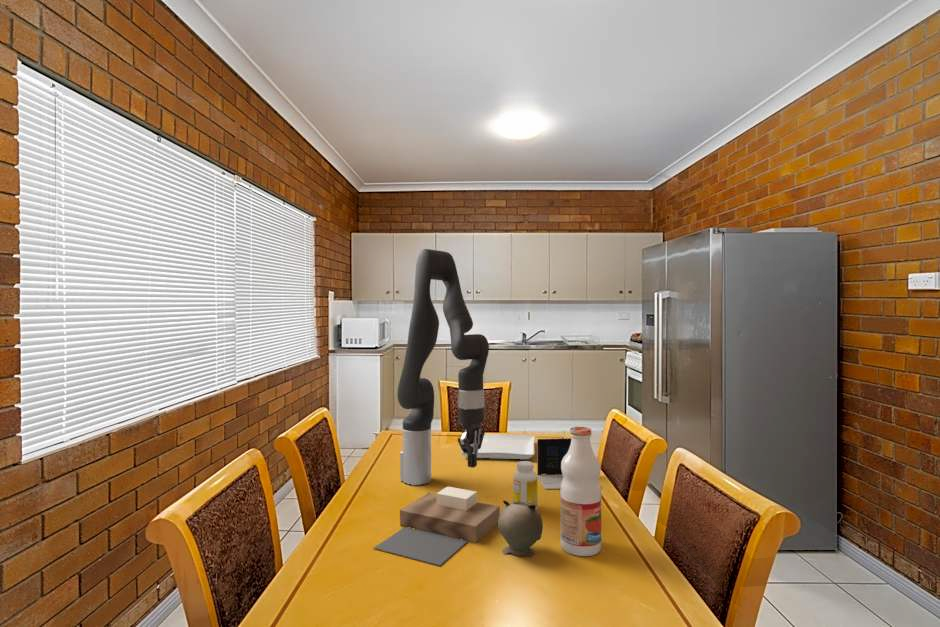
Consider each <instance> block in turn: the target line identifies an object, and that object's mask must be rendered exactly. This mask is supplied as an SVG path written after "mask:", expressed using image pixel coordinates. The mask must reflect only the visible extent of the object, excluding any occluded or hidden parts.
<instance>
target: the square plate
mask: <svg viewBox="0 0 940 627" xmlns="http://www.w3.org/2000/svg"><path fill="white" fill-rule="evenodd" d="M535 442H536V436H535V435H526V434H525V435H523V434H508V433H507V434H505V433H503V434H502V433H485V434H484V437H483V441H482V445H481V448H480V449H478V453H477V459H483V458H490V460H510V459H520V461H522V460H523V461H525V460H529V459H531V458H532V457H533V456H534V455H536V452H535V450H536V449H535ZM460 454H461V455H462V456H463V457H466V458H468V454H466V453H463V451H462V450H461V451H460Z"/></svg>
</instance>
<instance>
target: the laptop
mask: <svg viewBox="0 0 940 627" xmlns="http://www.w3.org/2000/svg"><path fill="white" fill-rule="evenodd" d="M536 441H537V442H536V450H537V451H536V454H537V455H536V456H537V457H536V458H537V459H536V462H537V463H536V464H537V465H536V469H537V470H536V472H537V473H536V474H537V480H540V481H539V483H541V485H542V486H543V488H544V490H548V491H549V490H560V489H561V482H562V480H563V474H562V471H561V462H562V459H563V457H564V456H565V455H566V454H567V452H568V450H569V448H570V444H571V438H570V437H568V438H566V437H565V438H564V437H563V438H537V440H536Z"/></svg>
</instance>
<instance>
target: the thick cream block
mask: <svg viewBox="0 0 940 627" xmlns="http://www.w3.org/2000/svg"><path fill="white" fill-rule="evenodd" d="M477 493H478V492H477V491H476V490H470V489H464V488H458V487H454V486H453V487H452V486H446V487H444V488H443V489H441V490H440V491H438V492H437V493H435V494H436V505H441V506H446V507H451V508H456V509H461V510H466V511H467V510H468V509H469V508H471V507H472V506H473V505H475V504H476V503H477V502H478V496H477V495H478V494H477Z"/></svg>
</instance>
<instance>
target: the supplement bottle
mask: <svg viewBox="0 0 940 627" xmlns="http://www.w3.org/2000/svg"><path fill="white" fill-rule="evenodd" d="M534 466H535V465H534V463H533V462H532V461H529V460H523V461H522V460H519V461H517V462H516V469H517V470H516V471H515V472H514V473H513V475H512V476H513V478H512V480H513V503H515V502H524V503H526V504H528V505H533V504H534V505H535V507H536V508H535V510H536V511H538V504H539V502H538V475H537V473H536V472H535V471H534V468H535V467H534Z"/></svg>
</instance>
